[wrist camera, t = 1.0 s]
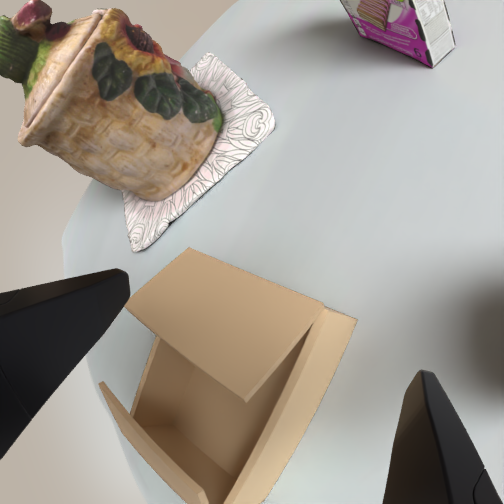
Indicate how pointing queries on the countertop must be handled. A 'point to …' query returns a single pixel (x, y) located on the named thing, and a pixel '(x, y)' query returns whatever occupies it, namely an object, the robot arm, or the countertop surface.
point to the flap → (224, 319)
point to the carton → (238, 413)
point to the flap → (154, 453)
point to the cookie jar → (129, 111)
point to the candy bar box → (405, 26)
